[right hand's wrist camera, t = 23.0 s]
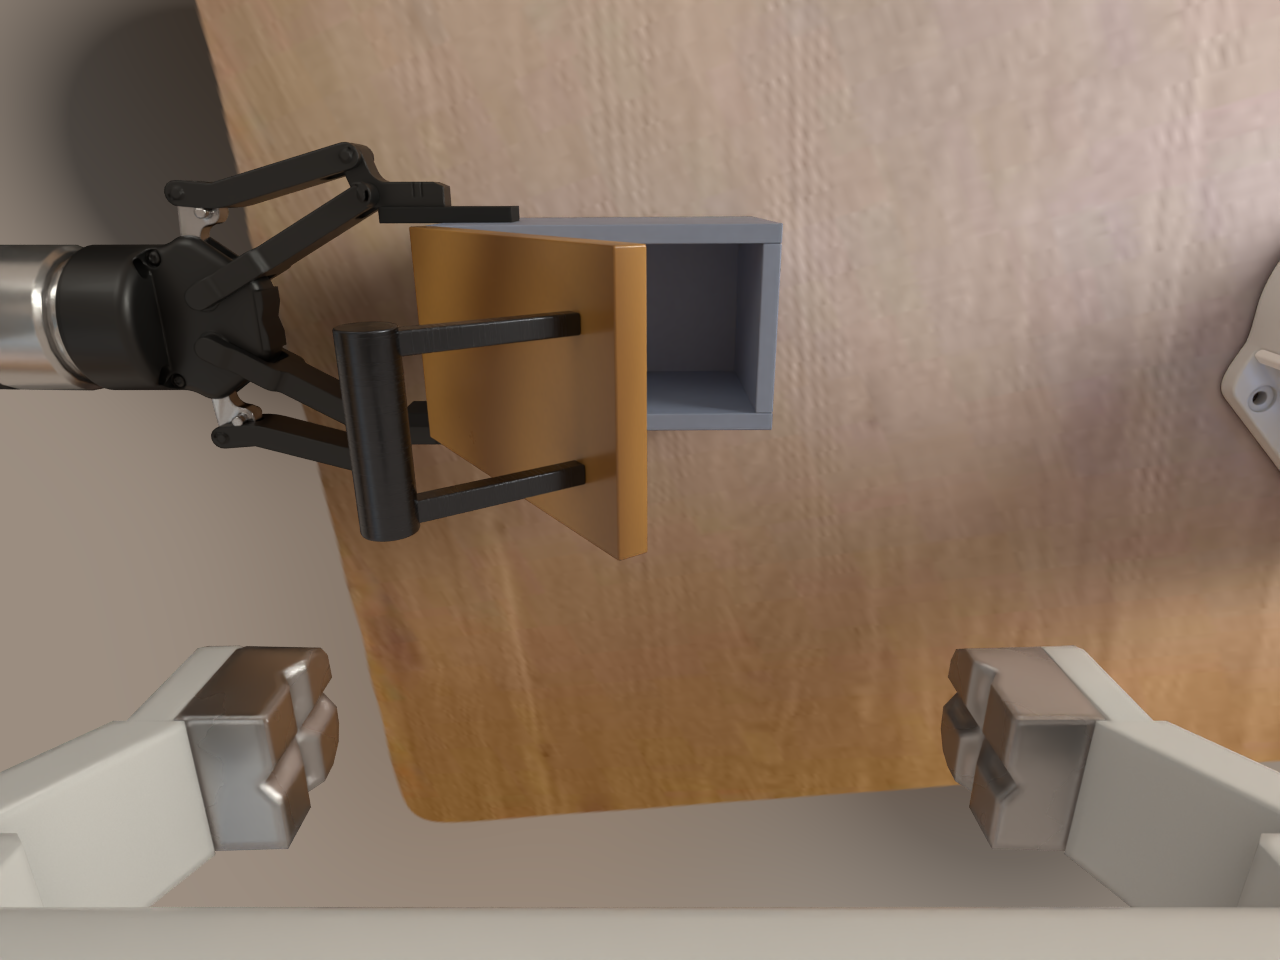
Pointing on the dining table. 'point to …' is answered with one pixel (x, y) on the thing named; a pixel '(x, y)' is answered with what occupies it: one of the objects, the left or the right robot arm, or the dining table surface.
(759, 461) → the dining table surface
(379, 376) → the door
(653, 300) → the chest
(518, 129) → the dining table surface
